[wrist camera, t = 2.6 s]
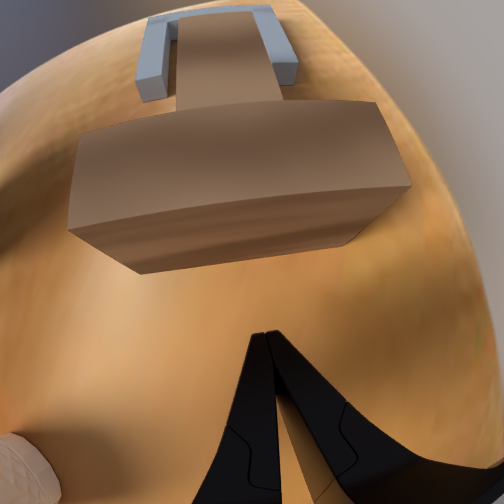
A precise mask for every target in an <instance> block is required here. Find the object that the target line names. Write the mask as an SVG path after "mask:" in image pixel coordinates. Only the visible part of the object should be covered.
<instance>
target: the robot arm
mask: <svg viewBox="0 0 504 504" xmlns="http://www.w3.org/2000/svg"><path fill="white" fill-rule="evenodd" d="M276 400H277V403H278V406H279V409H280V412H281V414H282V417H283V420H284V423H285V426H286V429H287V431H288V434H289V437H290V440H291V443H292V445H293V448H294V451H295V454H296V457H297V459H298V462H299V465H300V467H301V470H302V473H303V476H304V478H305V481H306V484H307V486H308V489H309V492H310V494H311V497H312V500H313V502H314V504H504V457H503V458H502V459H501V460H499V461H498V462H496V463H495V464H493V465H492V466H490V467H489V468H487V469H478V468H471V467H465V466H459V465H453V464H447V463H442V462H438V461H433V460H429V459H426V458H423V457H421V456H418V455H416V454H415V453H413V452H411V451H410V450H408V449H407V448H405V447H404V446H403V445H401V444H400V443H398V442H397V441H395V440H394V439H393V438H391V437H390V436H388V435H387V434H386V433H384V432H383V431H382V430H380V429H379V428H378V427H376V426H375V425H374V424H372V423H371V422H370V421H369V420H367V419H366V418H365V417H364V416H363V415H362V414H361V413H360V412H359V411H358V410H356V409H355V408H354V407H353V406H352V405H351V404H350V403H349V402H348V401H347V400H346V399H345V398H344V397H343V396H342V395H341V394H340V393H339V392H338V391H337V390H336V389H335V388H334V387H333V386H332V385H331V384H330V383H329V382H328V381H327V380H326V379H325V378H324V377H323V376H322V375H321V374H320V373H319V372H318V371H317V369H316V368H315V367H314V366H313V365H312V364H311V363H310V362H309V361H308V360H307V359H306V358H305V357H304V356H303V355H302V354H301V353H300V352H299V351H298V350H297V349H296V348H295V347H294V346H293V345H292V344H291V343H290V341H289V340H288V339H287V338H286V337H285V336H284V335H283V334H282V333H281V332H280V331H279V330H273V331H267V332H266V333H264V332H261V333H255V334H252V335H251V338H250V342H249V345H248V349H247V352H246V356H245V360H244V363H243V367H242V370H241V374H240V377H239V381H238V384H237V388H236V391H235V395H234V398H233V402H232V405H231V409H230V412H229V416H228V419H227V422H226V426H225V429H224V432H223V435H222V438H221V441H220V444H219V447H218V450H217V453H216V455H215V457H214V460H213V462H212V464H211V466H210V468H209V470H208V472H207V474H206V477H205V479H204V481H203V482H202V484H201V486H200V488H199V490H198V492H197V494H196V496H195V498H194V500H193V502H192V504H282V493H281V474H280V456H279V438H278V422H277V406H276ZM346 401H347V402H346Z"/></svg>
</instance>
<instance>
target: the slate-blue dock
mask: <svg viewBox="0 0 504 504" xmlns="http://www.w3.org/2000/svg"><path fill="white" fill-rule="evenodd" d="M241 11H251V12H252V14H253V17H254V19H255V22H256V24H257V27H258V29H259V32H260V34H261V37H262V40H263V42H264V45H265V48H266V50H267V53H268V56H269V58H270V61H271V64H272V67H273V70H274V73H275V76H276V78H277V81H278V84H279V85H294V83H295V79H296V74H297V70H298V65H299V61H298V59H297V57H296V55H295V53H294V51H293V49H292V47H291V44H290V42H289V40H288V38H287V36H286V34H285V32H284V30H283V28H282V26H281V25H280V23H279V21H278V19H277V17H276V15H275V13H274V11H273V10H272V8H271V6H270V5H237V6H222V7H211V8H202V9H194V10H187V11H181V12H175V13H169V14H164V15H159V16H155V17H150V18H148V22H147V26H146V30H145V34H144V38H143V42H142V47H141V51H140V56H139V61H138V66H137V71H136V77H135V83H136V85H137V88H138V91H139V94H140V96H141V99H142V102H148V101H152V100H157V99H162V98H167V93H168V72H169V57H170V44H171V41H173V40H178V25H179V18H183V17H189V16H197V15H205V14H214V13H225V12H241Z"/></svg>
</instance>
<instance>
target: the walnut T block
mask: <svg viewBox="0 0 504 504" xmlns="http://www.w3.org/2000/svg"><path fill="white" fill-rule="evenodd" d="M411 186H412V184H411V181H410V178H409V176H408V173H407V171H406V168H405V165H404V163H403V161H402V158H401V156H400V153H399V151H398V149H397V146H396V144H395V142H394V139H393V137H392V135H391V133H390V131H389V129H388V126H387V124H386V122H385V120H384V118H383V116H382V114H381V112H380V110H379V108H378V106H377V104H376V102H363V101H345V100H284V99H283V96H282V93H281V90H280V87H279V84H278V81H277V78H276V76H275V73H274V70H273V67H272V64H271V61H270V58H269V56H268V53H267V50H266V48H265V45H264V42H263V40H262V37H261V34H260V32H259V29H258V27H257V24H256V22H255V19H254V17H253V14H252V12H251V11H241V12H225V13H214V14H205V15H197V16H189V17H183V18H179V25H178V43H177V68H176V112H171V113H165V114H160V115H155V116H150V117H146V118H141V119H137V120H132V121H128V122H124V123H120V124H116V125H112V126H109V127H105V128H101V129H98V130H95V131H91V132H88V133H85V134H81V135H80V136H79V141H78V146H77V151H76V157H75V163H74V169H73V176H72V183H71V191H70V200H69V210H68V222H67V230H68V231H69V232H71V233H73V234H74V235H76V236H77V237H79V238H80V239H82V240H84V241H85V242H87V243H88V244H90V245H91V246H93V247H95V248H96V249H98V250H100V251H101V252H103V253H104V254H106V255H108V256H109V257H111V258H113V259H114V260H116V261H118V262H119V263H121V264H123V265H125V266H126V267H128V268H130V269H131V270H133V271H135V272H137V273H138V274H140V275H141V274H149V273H156V272H164V271H171V270H178V269H186V268H193V267H200V266H207V265H215V264H222V263H229V262H236V261H243V260H250V259H257V258H265V257H272V256H279V255H286V254H293V253H299V252H306V251H313V250H320V249H327V248H334V247H341V246H344V245H345V244H346V243H347V242H348V241H350V240H351V239H352V238H353V237H354V236H356V235H357V234H358V233H359V232H360V231H361V230H363V229H364V228H365V227H366V226H367V225H368V224H370V223H371V222H372V221H373V220H374V219H375V218H376V217H378V216H379V215H380V214H381V213H382V212H383V211H384V210H386V209H387V208H388V207H389V206H390V205H391V204H392V203H393V202H395V201H396V200H397V199H398V198H399V197H400V196H401V195H402V194H404V193H405V192H406V191H407V190H408V189H409V188H410V187H411Z"/></svg>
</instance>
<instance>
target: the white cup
mask: <svg viewBox="0 0 504 504" xmlns="http://www.w3.org/2000/svg"><path fill="white" fill-rule="evenodd" d="M61 497H62V493H61V488H60V482H59V480H58V478H57V477H56V475H55V473H54V471H53V469H52V467H51V465H50V464H49V463H48V461H47V460H46V459H45V458H44V457H43V455H42V454H41V453H40V452H39V450H38V449H37V448H36V447H34V446H33V445H32V444H31V443H30V442H28V441H27V440H26V439H25V438H23V437H21V436H18V435H16V434H13V433H7V434H3V435H0V504H58V502H59V500H60V499H61Z"/></svg>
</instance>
